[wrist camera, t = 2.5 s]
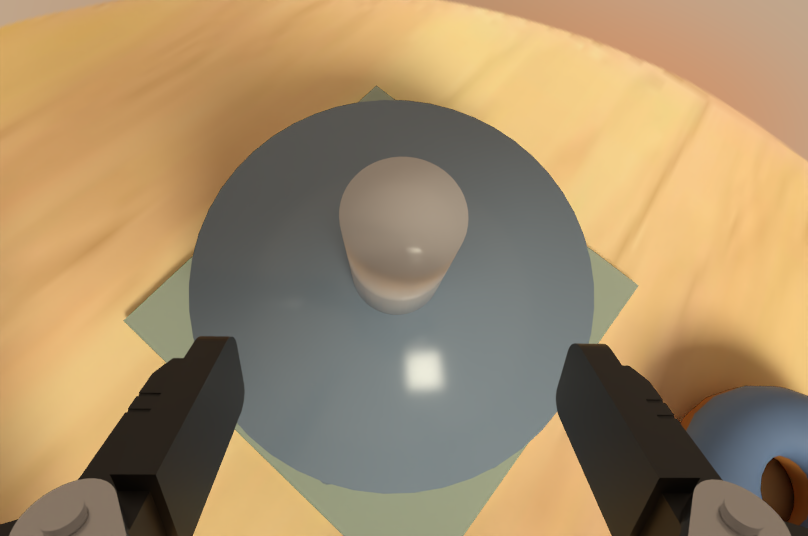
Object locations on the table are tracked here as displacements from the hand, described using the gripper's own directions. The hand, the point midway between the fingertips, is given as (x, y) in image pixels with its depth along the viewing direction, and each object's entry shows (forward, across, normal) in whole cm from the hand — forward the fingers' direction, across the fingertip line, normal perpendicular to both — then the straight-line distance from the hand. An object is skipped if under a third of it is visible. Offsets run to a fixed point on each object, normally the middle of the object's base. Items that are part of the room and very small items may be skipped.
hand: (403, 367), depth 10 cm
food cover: (+12, 0, +6) cm, 13 cm away
